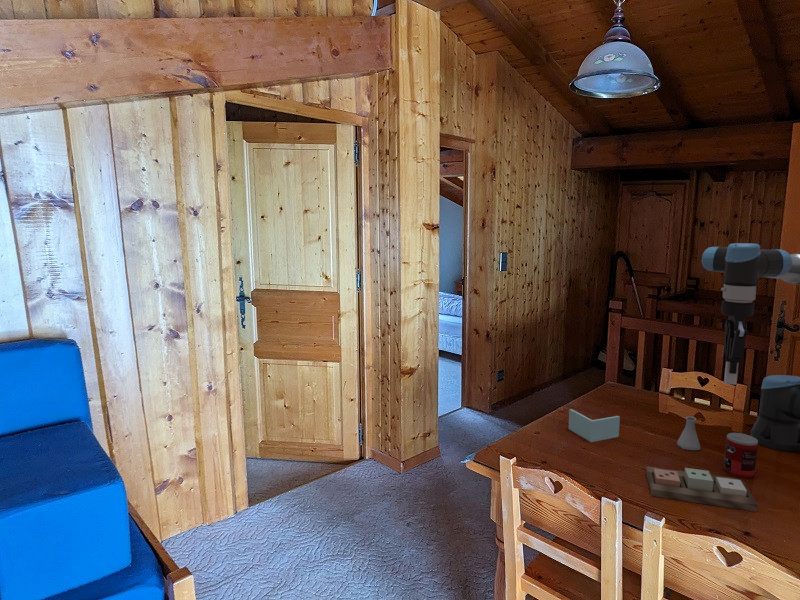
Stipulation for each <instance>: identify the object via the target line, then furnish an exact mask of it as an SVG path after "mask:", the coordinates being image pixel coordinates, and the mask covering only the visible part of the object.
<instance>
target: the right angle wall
mask: <svg viewBox="0 0 800 600" xmlns="http://www.w3.org/2000/svg"><path fill="white" fill-rule="evenodd" d="M620 421H621V417H620V416H619V415H614V416H610V417H602V418H597V419H592V418H589V417H587V416H585V415H584V414H582V413H580V412H578V411H576V410H575V409H572V408H571V409H568V430H569V431H571V432H573V433H574V434H577V436H579V437H582V439H585V440H587V441H588V442H590V443H594V442H600V441H604V440H609V439H615V438H618V437H619V436H620V423H621V422H620Z"/></svg>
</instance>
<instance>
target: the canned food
mask: <svg viewBox="0 0 800 600" xmlns="http://www.w3.org/2000/svg"><path fill="white" fill-rule="evenodd" d="M758 448H759V444H758V440H757V439H756V438H754V437H752V436H751V435H748V434H746V433H741V432H740V433H739V432H730V433H727V435H726V438H725V450H724V459H723V469H724V471H725V472H727V473H728V474H729V475H732V476H734V477H736V478H737V477H738V478H741V479H743V478H744V479H751V478H753V477H754V476H755V474H756V467H757V465H756V464H757V457H758V450H759V449H758Z"/></svg>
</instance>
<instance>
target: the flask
mask: <svg viewBox="0 0 800 600" xmlns="http://www.w3.org/2000/svg"><path fill="white" fill-rule="evenodd" d="M685 420H686V422H685V427H684V429H683V430H682V432H681V434H680V436H679V437H678V440H677V441H676V445H677V446H678V447H679V448H681V449H683V450H687V451H701V443H700V441H699V438H698V435H697V434H698V433H697V431H696V422H697V418H696V417H694V416H685Z"/></svg>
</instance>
